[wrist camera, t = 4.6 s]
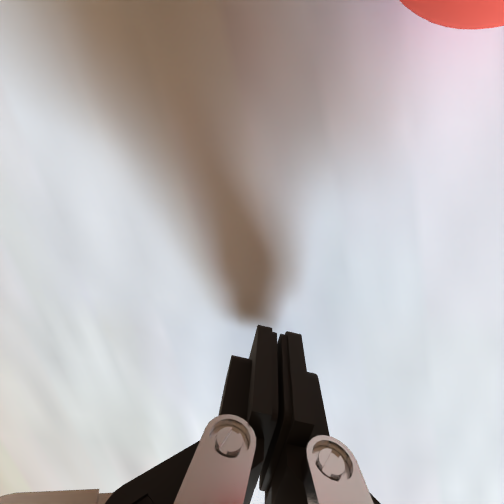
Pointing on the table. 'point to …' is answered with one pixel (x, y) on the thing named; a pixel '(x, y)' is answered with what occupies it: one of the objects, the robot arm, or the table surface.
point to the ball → (459, 12)
